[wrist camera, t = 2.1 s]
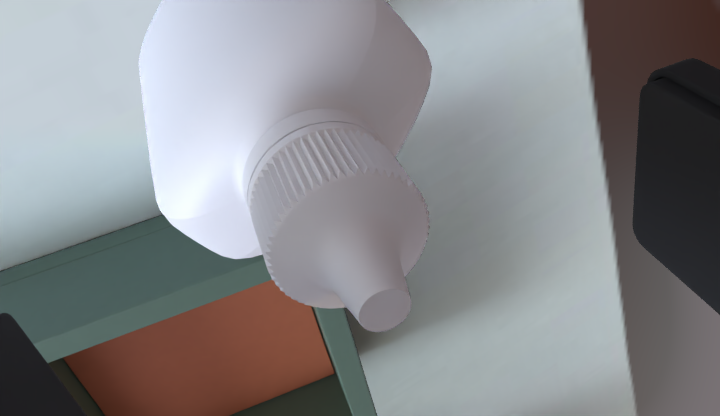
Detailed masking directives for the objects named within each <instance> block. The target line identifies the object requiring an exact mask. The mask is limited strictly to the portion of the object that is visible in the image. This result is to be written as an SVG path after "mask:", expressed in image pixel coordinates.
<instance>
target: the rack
mask: <svg viewBox="0 0 720 416" xmlns="http://www.w3.org/2000/svg"><path fill="white" fill-rule="evenodd" d="M1 313H8V314H10V315H11V316H12V317H13V318H14V319H15V320H16V322H17V323H18V324H19V326H20V327H21V328H22V330H23V331H24V332H25V334H26V335H27V336H28V338H29V339H30V340H31V342H32V343H33V344H34V346H35V347H36V348H37V350H38V351H39V352H40V354H41V355H42V356H43V358H44V359H45V360H46V362H47V363H48V364H49V366H50V367H51V368H52V370H53V371H54V372H55V374H56V375H57V376H58V378H59V379H60V380H61V382H62V383H63V384H64V386H65V387H66V388H67V390H68V391H69V392H70V394H71V395H72V396H73V398H74V399H75V400H76V402H77V403H78V404H79V406H80V407H81V408H82V410H83V411H84V412H85V414H86V415H87V416H377V413H376V410H375V407H374V404H373V400H372V397H371V394H370V391H369V387H368V384H367V381H366V378H365V374H364V371H363V368H362V365H361V361H360V358H359V355H358V352H357V349H356V345H355V342H354V339H353V336H352V332H351V329H350V326H349V323H348V319H347V316H346V313H345V310H344V308H333V309H327V308H319V307H312V306H309V305H305V304H304V303H299V302H298V301H297V300H293V299H291V297H290V296H287V295H285V292H283V291H280V288H279V287H278V286H276V285H275V282H274V280H272V278H271V275H270V274H269V272H268V269H267V266H266V263H265V260H264V257H263V254H262V255H259V256H255V257H252V258H242V259H232V258H228V257H223V256H221V255H219V254H217V253H215V252H213V251H211V250H209V249H208V248H206V247H204V246H203V245H201V244H199V243H198V242H196V241H194V240H193V239H191V238H190V237H188V236H187V235H185V234H184V233H182V232H181V231H179V230H178V229H177V228H175V227H174V226H173V225H172V224H171V223H170V222H169V221H168V220H167V218H166V217H165V216H164V215H161V216H158V217H155V218H153V219H150V220H147V221H144V222H141V223H138V224H135V225H133V226H130V227H127V228H124V229H121V230H118V231H115V232H113V233H110V234H107V235H104V236H101V237H98V238H95V239H93V240H90V241H87V242H84V243H81V244H78V245H75V246H73V247H70V248H67V249H64V250H61V251H58V252H56V253H53V254H50V255H47V256H44V257H41V258H38V259H36V260H33V261H30V262H27V263H24V264H21V265H18V266H16V267H13V268H10V269H7V270H4V271H1V272H0V314H1Z"/></svg>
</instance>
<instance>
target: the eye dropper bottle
mask: <svg viewBox="0 0 720 416" xmlns="http://www.w3.org/2000/svg"><path fill="white" fill-rule="evenodd" d="M431 70H432V66H431V62H430V59H429V56H428V53H427V50H426V49H425V48H424V46H423V45H422V44H421V42H420V41H419V40H418V38H417V37H416V36H415V34H414V33H413V32H412V31H411V29H410V28H409V27H408V26H407V25H406V24H405V22H404V21H403V20H402V19H401V18H400V17H399V15H398V14H397V13H396V12H395V11H394V10H393V8H392V7H391V6H390V5H389V4H388V3H387V2H386V1H385V0H162V2H161V3H160V5H159V7H158V9H157V10H156V12H155V14H154V16H153V18H152V20H151V23H150V25H149V28H148V30H147V32H146V35H145V38H144V41H143V44H142V47H141V51H140V56H139V72H140V81H141V90H142V99H143V107H144V116H145V125H146V132H147V140H148V148H149V156H150V164H151V172H152V178H153V184H154V190H155V195H156V201H157V204H158V206H159V209H160V211H161V212H162V213H163V215H164V216H165V217H166V218H167V220H168V221H169V222H170V223H171V224H172V225H173V226H174V227H175V228H177V229H178V230H179V231H181V232H182V233H184V234H185V235H187V236H188V237H190V238H191V239H193V240H194V241H196V242H198V243H199V244H201V245H203V246H204V247H206V248H208V249H209V250H211V251H213V252H215V253H217V254H219V255H221V256H223V257H228V258H232V259H242V258H252V257H255V256H259V255H262V254H263V257H264V260H265V263H266V266H267V269H268V272H269V274H270V275H271V278H272V280H274V282H275V285H276V286H278V287H279V288H280V291H283V292H285V295H287V296H290V297H291V299H293V300H297V301H298V302H299V303H304V304H305V305H309V306H312V307H319V308H327V309H333V308H345V307H347V308H348V310H349V311H350V312H351V313H352V315H353V316H354V317H355V318H356V319H357V321H358V322H359V323H360V324H361V326H362V327H363V328H365V329H366V330H368V331H372V332H383V331H387V330H390V329H392V328H394V327H396V326H398V325H399V324H400V323H402V322H403V321H404V320H405V319H406V317H407V316H408V314H409V312H410V310H411V306H412V302H411V298H410V294H409V290H408V287H407V283H406V280H405V276H406V275H407V274H408V273H409V272H410V271H411V270H412V268H413V267H414V266H415V264H416V263H417V261H418V259H419V258H420V256H421V255H422V254H421V253H422V252H423V250H424V248H425V247H424V246H425V244H426V242H427V237H428V235H429V233H428V230H429V228H430V226H429V221H430V219H429V217H428V215H429V212H428V210H427V205H426V203H425V199H424V198H423V196H422V195H421V194H422V193H421V192H420V191H419V189H418V188H417V187H416V185H415V184H414V183H413V181H412V180H411V179H410V177H409V176H408V174H407V173H406V172H405V170H404V169H403V168H402V166H401V165H400V164H399V162H398V161H397V159H396V158H395V157H396V155H397V154H398V152H399V151H400V149H401V147H402V145H403V144H404V142H405V140H406V138H407V136H408V134H409V132H410V130H411V129H412V127H413V125H414V123H415V121H416V119H417V116H418V114H419V112H420V109H421V107H422V105H423V102H424V99H425V97H426V94H427V91H428V88H429V84H430V78H431Z"/></svg>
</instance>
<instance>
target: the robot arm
mask: <svg viewBox="0 0 720 416" xmlns="http://www.w3.org/2000/svg"><path fill="white" fill-rule="evenodd" d="M638 121H639V122H638V138H637V155H636V173H635V191H634V207H633V230H634V233H635V235H636V238H637V240H638V241H639V243H640V244H641V245H642V246H643V247H644V248H645V249H646V250H647V251H648V252H650V253H651V254H652V255H653V256H654V257H655V258H656V259H657V260H659V261H660V262H661V263H662V264H663V265H664V266H665V267H666V268H668V269H669V270H670V271H671V272H672V273H673V274H674V275H676V276H677V277H678V278H679V279H680V280H681V281H682V282H683V283H685V284H686V285H687V286H688V287H689V288H690V289H691V290H692V291H694V292H695V293H696V294H697V295H698V296H699V297H700V298H701V299H703V300H704V301H705V302H706V303H707V304H708V305H709V306H711V307H712V308H713V309H714V310H715V311H716V312H717V313H718V314H720V70H719V69H717V68H715V67H713V66H710V65H709V64H706V63H705V62H702V61H700V60H697V59H694V58H692V59H686V60H683V61H681V62H678V63H675V64H673V65H669V66H667V67H664V68H661V69H658V70H656V71H654V72H653V73H652V74H651V75H650V77H649V79H648V82H647V84H646V85H644V86H643V88H642V90H641V93H640V103H639V120H638ZM0 416H87V415H86V414H85V412H84V411H83V410H82V408H81V407H80V406H79V404H78V403H77V402H76V400H75V399H74V398H73V396H72V395H71V394H70V392H69V391H68V390H67V388H66V387H65V386H64V384H63V383H62V382H61V380H60V379H59V378H58V376H57V375H56V374H55V372H54V371H53V370H52V368H51V367H50V366H49V364H48V363H47V362H46V360H45V359H44V358H43V356H42V355H41V354H40V352H39V351H38V350H37V348H36V347H35V346H34V344H33V343H32V342H31V340H30V339H29V338H28V336H27V335H26V334H25V332H24V331H23V330H22V328H21V327H20V326H19V324H18V323H17V322H16V320H15V319H14V318H13V317H12V316H11V315H10V314H8V313H1V314H0Z"/></svg>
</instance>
